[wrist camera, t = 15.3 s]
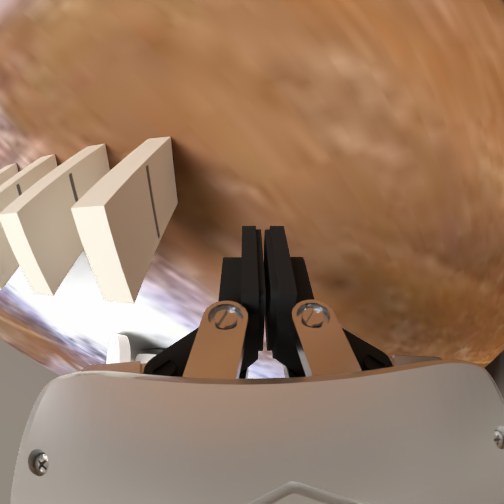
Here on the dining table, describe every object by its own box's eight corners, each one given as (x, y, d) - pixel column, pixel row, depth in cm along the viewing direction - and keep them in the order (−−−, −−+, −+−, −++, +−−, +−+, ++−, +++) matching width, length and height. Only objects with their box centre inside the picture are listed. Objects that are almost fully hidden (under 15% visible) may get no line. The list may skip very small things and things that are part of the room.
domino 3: (170, 136, 17) (104, 205, 9) (178, 202, 20) (134, 303, 12) (148, 138, 17) (70, 208, 9) (157, 203, 20) (104, 300, 12)
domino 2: (105, 143, 17) (17, 212, 9) (117, 204, 20) (53, 295, 12) (87, 146, 17) (-3, 214, 9) (100, 206, 20) (33, 293, 12)
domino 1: (55, 154, 17) (-32, 220, 9) (69, 209, 20) (1, 289, 12) (41, 157, 17) (-43, 222, 9) (55, 210, 20) (-11, 287, 12)
